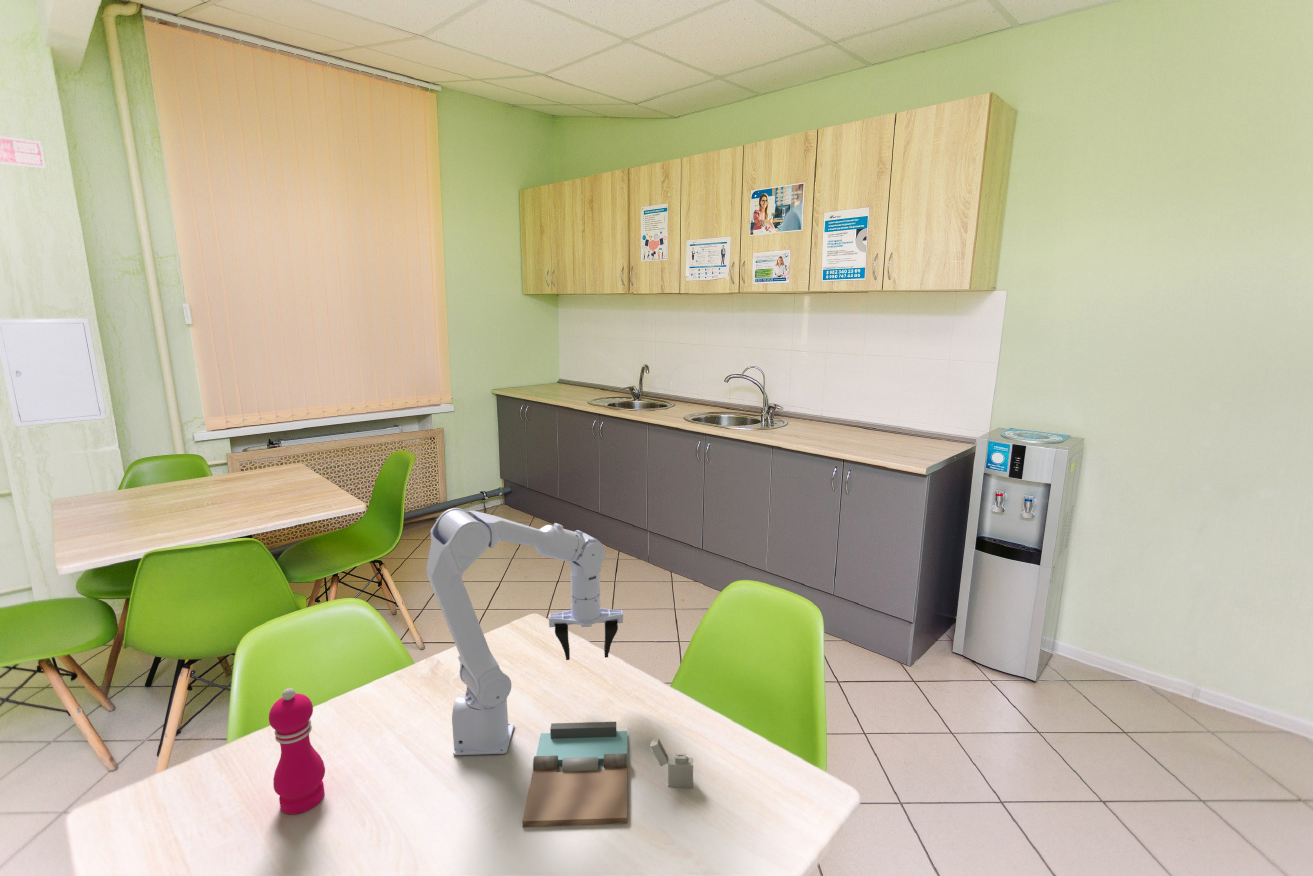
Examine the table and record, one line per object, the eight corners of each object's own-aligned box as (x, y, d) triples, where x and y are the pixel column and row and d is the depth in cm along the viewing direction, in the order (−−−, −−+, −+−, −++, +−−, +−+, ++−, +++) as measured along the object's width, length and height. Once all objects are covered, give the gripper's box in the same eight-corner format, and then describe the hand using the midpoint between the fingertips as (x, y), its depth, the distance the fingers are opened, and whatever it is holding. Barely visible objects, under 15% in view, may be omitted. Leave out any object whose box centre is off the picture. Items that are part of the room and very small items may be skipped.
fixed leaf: (522, 826, 95) (522, 813, 95) (535, 765, 108) (534, 753, 108) (627, 823, 96) (626, 810, 96) (627, 762, 109) (627, 750, 108)
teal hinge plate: (532, 778, 105) (532, 762, 105) (541, 738, 115) (540, 723, 115) (627, 775, 106) (627, 759, 105) (627, 735, 116) (627, 721, 115)
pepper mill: (275, 824, 96) (258, 708, 92) (278, 792, 102) (262, 683, 98) (327, 807, 99) (313, 695, 95) (327, 777, 105) (314, 671, 101)
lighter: (693, 780, 105) (693, 738, 103) (692, 788, 103) (693, 745, 101) (651, 778, 105) (650, 736, 104) (650, 785, 104) (650, 743, 102)
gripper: (547, 605, 118) (549, 669, 120) (623, 600, 119) (624, 664, 122) (549, 588, 124) (551, 650, 127) (621, 584, 126) (622, 645, 129)
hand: (587, 656), depth 125 cm, fingers open, 7 cm apart
